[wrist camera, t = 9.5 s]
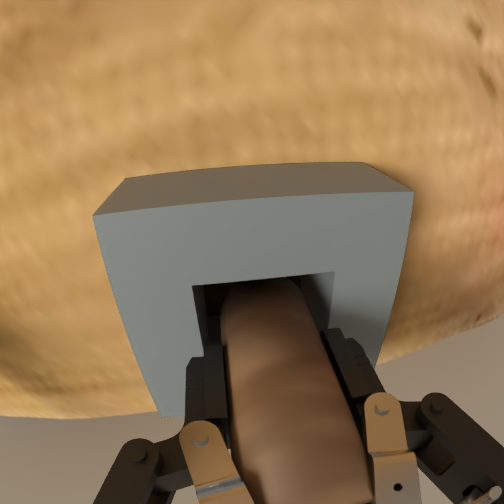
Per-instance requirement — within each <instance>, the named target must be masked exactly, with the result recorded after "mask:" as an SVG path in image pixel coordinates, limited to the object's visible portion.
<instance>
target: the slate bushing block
mask: <svg viewBox="0 0 504 504" xmlns="http://www.w3.org/2000/svg"><path fill="white" fill-rule="evenodd" d="M413 200H414V191H413V190H411V189H409V188H408V187H406V186H404V185H403V184H401V183H399V182H397V181H396V180H394V179H392V178H390V177H389V176H387V175H385V174H383V173H381V172H380V171H378V170H376V169H374V168H372V167H370V166H369V165H367V164H365V163H363V162H318V163H287V164H266V165H250V166H235V167H222V168H211V169H200V170H190V171H180V172H171V173H162V174H154V175H146V176H139V177H131V178H125V179H124V180H123V182H122V183H121V184H120V185H119V186H118V187H117V188H116V189H115V190H114V191H113V192H112V194H111V195H110V196H109V197H108V198H107V199H106V200H105V201H104V203H103V204H102V205H101V206H100V207H99V208H98V210H97V211H96V212H95V213H94V214H93V215H92V217H93V221H94V225H95V230H96V234H97V238H98V242H99V246H100V249H101V253H102V257H103V261H104V264H105V268H106V271H107V275H108V278H109V281H110V285H111V288H112V291H113V295H114V298H115V301H116V304H117V307H118V310H119V313H120V316H121V319H122V322H123V325H124V328H125V330H126V333H127V336H128V339H129V341H130V344H131V347H132V349H133V352H134V355H135V357H136V360H137V362H138V365H139V367H140V370H141V372H142V375H143V377H144V380H145V382H146V384H147V387H148V389H149V391H150V394H151V396H152V398H153V401H154V403H155V405H156V407H157V409H158V412H159V414H160V416H161V417H185V389H186V387H185V385H186V367H187V365H188V363H189V361H190V359H191V358H192V357H202V356H204V354H203V344H204V343H214V342H221V327H220V316H210V317H208V315H207V309H206V302H205V296H204V289H203V285H204V284H215V283H226V282H237V281H247V280H257V279H267V278H277V277H287V276H296V275H301V286H300V291H301V292H302V294H303V297H304V299H305V301H306V304H307V306H308V309H309V311H310V313H311V316H312V318H313V320H314V323H315V325H316V328H317V330H318V332H319V335H320V331H321V330H325V329H331V328H337V327H339V328H340V329H341V331H342V333H343V335H344V337H345V339H347V338H354V339H355V340H356V341H357V342H358V343H359V344H361V345H362V347H363V349H364V351H365V353H366V356H367V357H368V359H369V361H370V364H372V366H373V368H374V369H375V366H376V362H377V359H378V356H379V353H380V350H381V346H382V343H383V340H384V336H385V333H386V329H387V326H388V322H389V318H390V315H391V311H392V307H393V303H394V299H395V295H396V291H397V286H398V282H399V277H400V273H401V268H402V264H403V259H404V254H405V248H406V243H407V238H408V232H409V226H410V220H411V214H412V207H413Z"/></svg>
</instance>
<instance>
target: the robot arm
mask: <svg viewBox="0 0 504 504" xmlns="http://www.w3.org/2000/svg"><path fill="white" fill-rule="evenodd" d="M320 337H321V340H322V342H323V344H324V347H325V349H326V352H327V354H328V357H329V359H330V361H331V364H332V366H333V369H334V371H335V374H336V376H337V379H338V381H339V384H340V386H341V389H342V391H343V394H344V396H345V399H346V401H347V404H348V406H349V409H350V411H351V414H352V416H353V419H354V421H355V424H356V427H357V429H358V432H359V434H360V437H361V440H362V442H363V445H364V448H365V452H366V455H367V460H368V465H369V470H370V476H371V483H372V490H373V498H372V499H371V501H370V503H366V504H422V502H421V492H420V483H419V475H418V468H419V469H420V470H421V471H422V472H423V473H424V474H425V475H426V476H427V477H428V478H429V479H430V480H431V481H432V482H433V483H434V484H435V485H436V486H437V487H438V488H439V489H440V490H441V491H442V492H443V493H444V494H445V495H446V496H447V497H448V498H449V499H450V500H451V501H452V502H453V503H454V504H504V447H503V446H502V445H500V444H499V443H498V442H497V441H496V440H495V439H494V438H493V437H492V436H491V435H489V434H488V433H487V432H486V431H485V430H484V429H483V428H482V427H481V426H480V425H478V424H477V423H476V422H475V421H474V420H473V419H472V418H471V417H470V416H468V415H467V414H466V413H465V412H464V411H463V410H461V408H459V407H458V406H457V405H456V404H455V403H454V402H453V401H451V400H450V399H449V398H448V397H447V396H446V395H444V394H441V393H430V394H427V395H426V396H425V397H424V398H423V399H422V401H421V402H404V401H398V400H397V398H395V397H394V396H392V395H391V394H388V393H386V392H385V390H384V388H383V386H382V384H381V382H380V380H379V378H378V376H377V374H376V372H375V370H374V368H373V366H372V364H370V361H369V359H368V357H367V356H366V353H365V351H364V349H363V347H362V345H361V344H359V343H358V342H357V341H356V340H355V339H354V338H347V339H345V337H344V335H343V333H342V331H341V329H340V328H339V327H337V328H331V329H325V330H321V331H320ZM203 354H204V356H202V357H192V358H191V359H190V361H189V363H188V365H187V367H186V385H185V387H186V389H185V422H184V426H183V428H182V429H181V431H180V432H179V433H178V434H177V435H175V436H174V437H172V438H169V439H167V440H164V441H160V442H157V443H152V442H151V441H149V440H146V439H141V438H138V439H133V440H130V441H128V442H127V443H125V444H124V445H123V447H122V448H121V450H120V452H119V454H118V456H117V458H116V460H115V462H114V464H113V465H112V467H111V469H110V471H109V473H108V475H107V477H106V479H105V481H104V483H103V485H102V487H101V489H100V491H99V493H98V495H97V497H96V499H95V501H94V503H93V504H171V502H172V500H173V497H174V495H175V492H176V490H178V489H182V488H184V487H188V486H191V485H194V486H195V488H196V494H197V498H198V500H199V503H200V504H254V502H253V500H252V498H251V496H250V494H249V492H248V490H247V488H246V486H245V484H244V482H243V480H242V479H241V478H240V476H239V474H238V472H237V470H236V468H235V465H234V463H233V461H232V459H231V456H230V454H229V452H228V449H231V448H230V438H229V428H230V427H229V416H228V405H227V394H226V382H225V370H224V358H223V346H222V342H214V343H204V344H203ZM417 467H418V468H417Z"/></svg>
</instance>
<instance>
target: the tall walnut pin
mask: <svg viewBox="0 0 504 504" xmlns="http://www.w3.org/2000/svg"><path fill="white" fill-rule="evenodd" d="M220 327H221V342H222V346H223V358H224V370H225V382H226V394H227V405H228V416H229V427H230V428H229V438H230V448H231V458H232V461H233V463H234V465H235V468H236V470H237V472H238V474H239V476H240V478H241V479H242V480H243V482H244V484H245V486H246V488H247V490H248V492H249V494H250V496H251V498H252V500H253V502H254V504H366V503H370V501H371V499H372V498H373V490H372V483H371V476H370V470H369V465H368V460H367V455H366V452H365V448H364V445H363V442H362V440H361V437H360V434H359V432H358V429H357V427H356V424H355V421H354V419H353V416H352V414H351V411H350V409H349V406H348V404H347V401H346V399H345V396H344V394H343V391H342V389H341V386H340V384H339V381H338V379H337V376H336V374H335V371H334V369H333V366H332V364H331V361H330V359H329V357H328V354H327V352H326V349H325V347H324V344H323V342H322V340H321V337H320V335H319V332H318V330H317V328H316V325H315V323H314V320H313V318H312V316H311V313H310V311H309V309H308V306H307V304H306V301H305V299H304V297H303V294H302V292H301V291H300V289H299V288H298V286H297V285H296V284H295V283H294V282H292V281H291V280H289V279H287V278H285V277H277V278H267V279H257V280H247V281H239V282H238V283H236V284H235V285H233V286H232V287H231V288H230V289H229V290H228V291H227V292H226V294H225V295H224V297H223V299H222V301H221V304H220Z"/></svg>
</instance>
